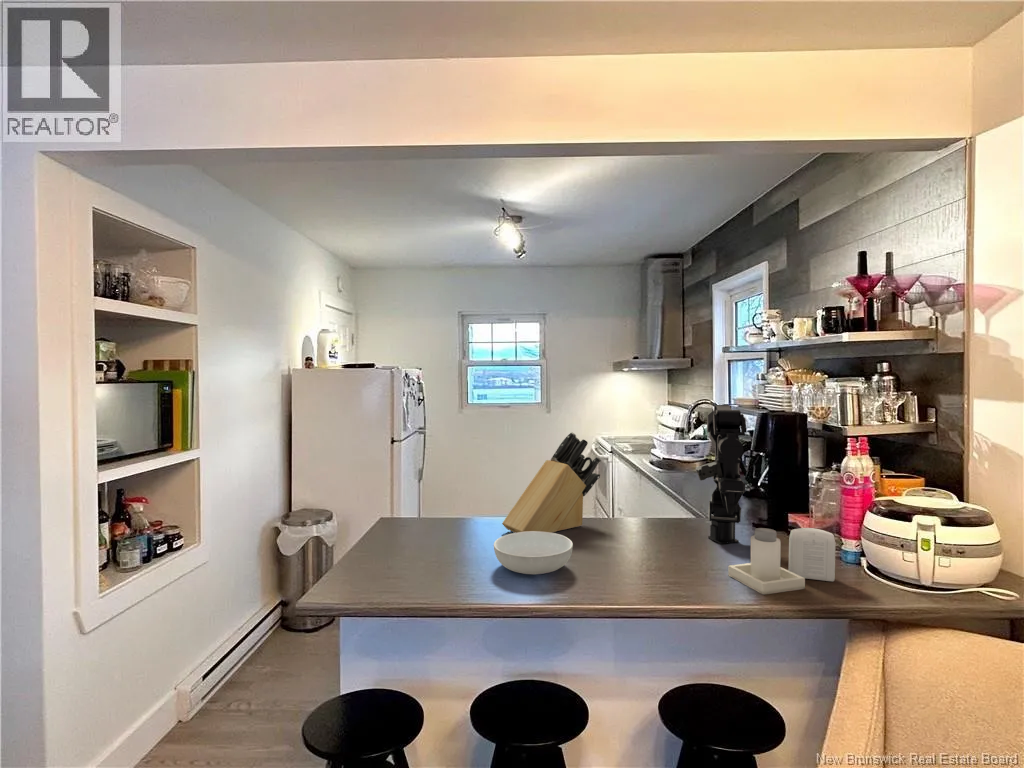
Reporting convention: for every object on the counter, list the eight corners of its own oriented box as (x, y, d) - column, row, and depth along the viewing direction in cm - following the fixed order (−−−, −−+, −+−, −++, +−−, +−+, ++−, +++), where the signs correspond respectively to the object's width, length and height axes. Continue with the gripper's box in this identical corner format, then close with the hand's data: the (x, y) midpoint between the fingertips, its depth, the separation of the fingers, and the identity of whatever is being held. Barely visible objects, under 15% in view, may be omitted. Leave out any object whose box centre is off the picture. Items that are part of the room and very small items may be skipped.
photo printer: (832, 576, 132) (833, 528, 132) (837, 583, 128) (837, 533, 128) (787, 572, 135) (787, 524, 135) (790, 578, 131) (790, 529, 131)
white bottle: (766, 572, 133) (766, 526, 133) (786, 582, 127) (786, 533, 127) (744, 575, 131) (744, 528, 131) (763, 586, 125) (764, 536, 125)
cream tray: (767, 570, 137) (767, 560, 136) (804, 588, 125) (804, 578, 125) (728, 575, 133) (728, 565, 133) (763, 594, 122) (763, 584, 122)
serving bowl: (531, 549, 154) (531, 526, 154) (588, 568, 139) (588, 542, 139) (477, 568, 139) (477, 542, 139) (535, 591, 124) (535, 562, 124)
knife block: (603, 522, 181) (603, 432, 181) (522, 541, 161) (522, 441, 160) (580, 514, 190) (580, 430, 190) (501, 532, 170) (501, 437, 169)
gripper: (694, 449, 158) (694, 500, 158) (700, 458, 140) (700, 516, 140) (734, 450, 155) (734, 502, 155) (745, 460, 137) (745, 519, 137)
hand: (727, 510), depth 147 cm, fingers open, 9 cm apart
